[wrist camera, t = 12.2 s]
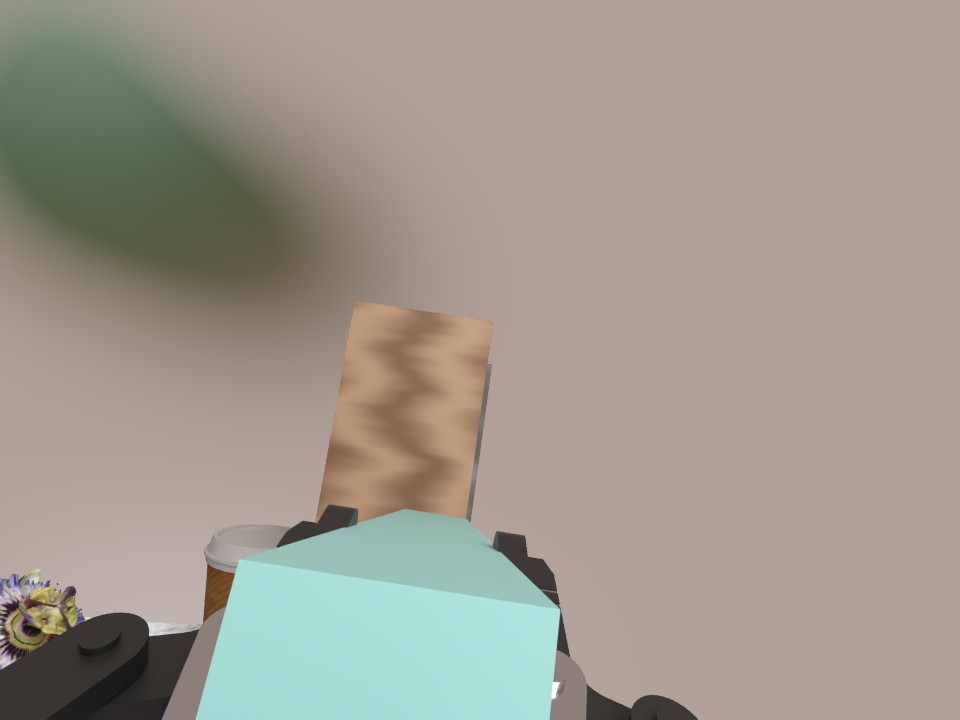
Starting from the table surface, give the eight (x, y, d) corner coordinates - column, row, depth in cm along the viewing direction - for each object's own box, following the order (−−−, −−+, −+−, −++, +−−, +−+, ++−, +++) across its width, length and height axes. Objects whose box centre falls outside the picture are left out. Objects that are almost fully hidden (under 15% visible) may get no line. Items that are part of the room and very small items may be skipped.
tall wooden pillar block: (266, 794, 31) (355, 300, 35) (317, 688, 43) (378, 332, 47) (431, 811, 31) (498, 322, 36) (435, 701, 43) (484, 348, 48)
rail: (123, 984, 4) (239, 559, 5) (392, 575, 27) (405, 509, 28) (518, 1037, 4) (561, 609, 5) (455, 585, 28) (466, 518, 29)
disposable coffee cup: (250, 720, 37) (280, 557, 39) (148, 688, 40) (181, 535, 41) (316, 665, 47) (338, 535, 48) (230, 642, 49) (254, 518, 50)
